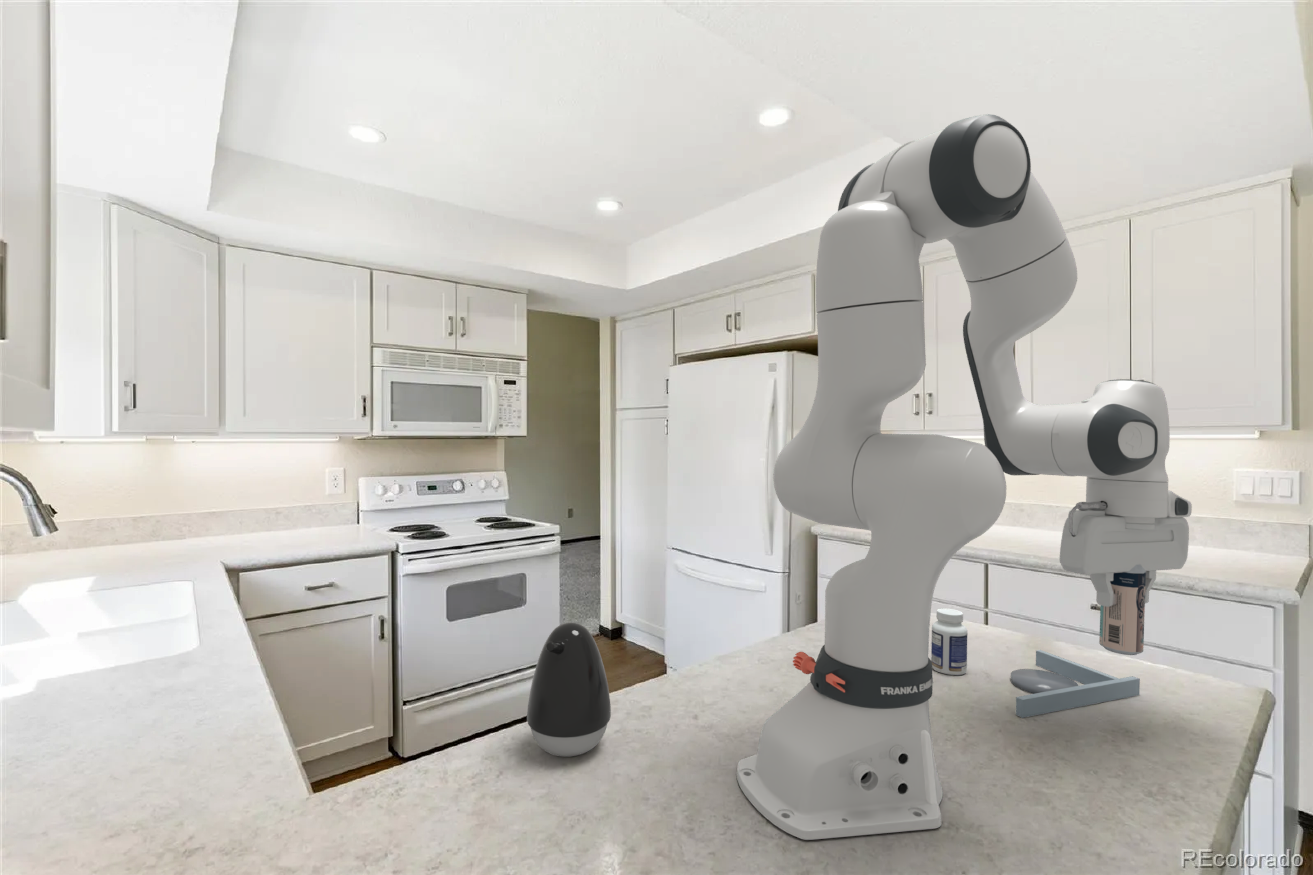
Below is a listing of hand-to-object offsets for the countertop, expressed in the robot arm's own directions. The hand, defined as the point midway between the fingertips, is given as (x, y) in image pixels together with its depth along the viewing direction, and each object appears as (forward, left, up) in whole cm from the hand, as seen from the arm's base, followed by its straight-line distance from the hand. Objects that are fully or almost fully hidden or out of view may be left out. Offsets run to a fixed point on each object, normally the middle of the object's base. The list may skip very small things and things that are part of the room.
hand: (1122, 604), depth 84 cm
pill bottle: (-7, +23, -17) cm, 29 cm away
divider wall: (+1, +13, -16) cm, 21 cm away
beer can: (0, 0, -7) cm, 7 cm away
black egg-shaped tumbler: (-72, +18, -17) cm, 76 cm away
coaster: (+2, +13, -17) cm, 21 cm away
